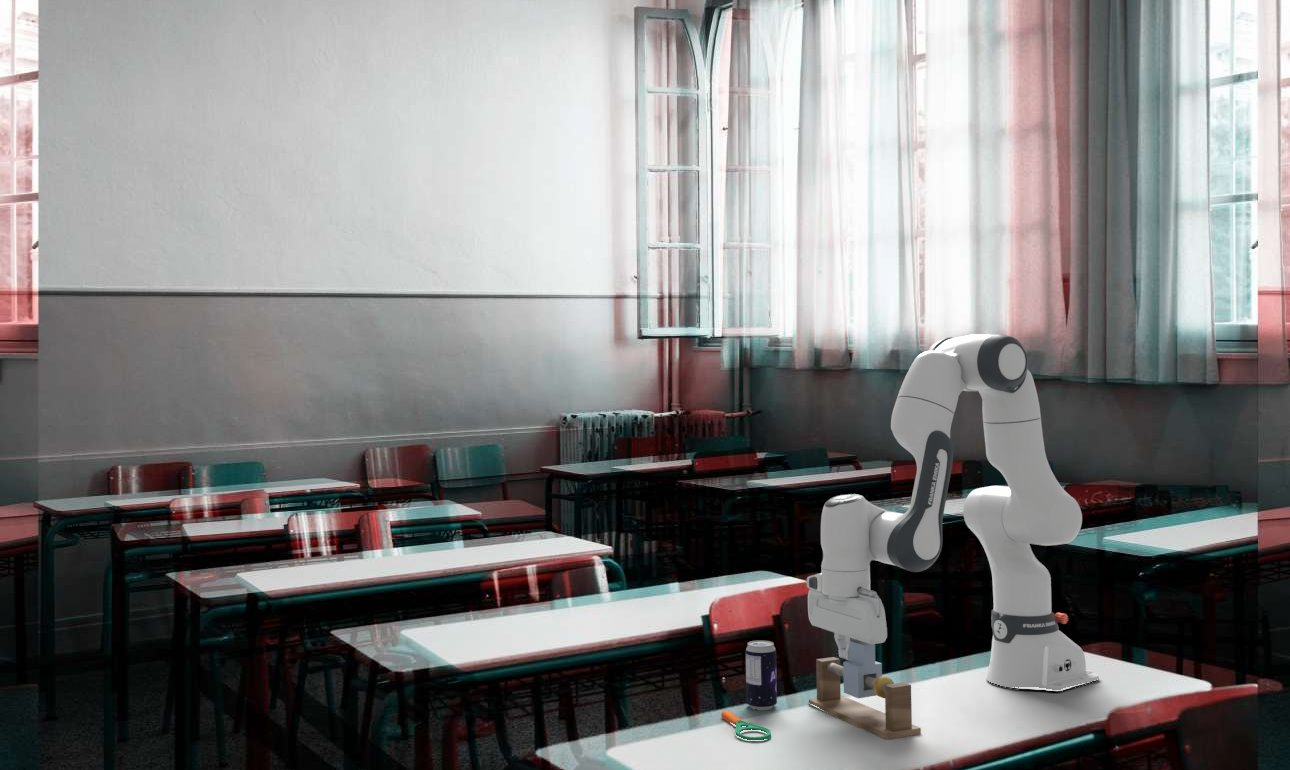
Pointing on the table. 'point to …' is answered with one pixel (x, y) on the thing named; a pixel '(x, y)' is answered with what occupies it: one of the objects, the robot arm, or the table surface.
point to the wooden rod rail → (867, 718)
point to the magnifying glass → (739, 723)
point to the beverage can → (761, 675)
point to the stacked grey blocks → (860, 669)
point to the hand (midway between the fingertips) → (847, 658)
